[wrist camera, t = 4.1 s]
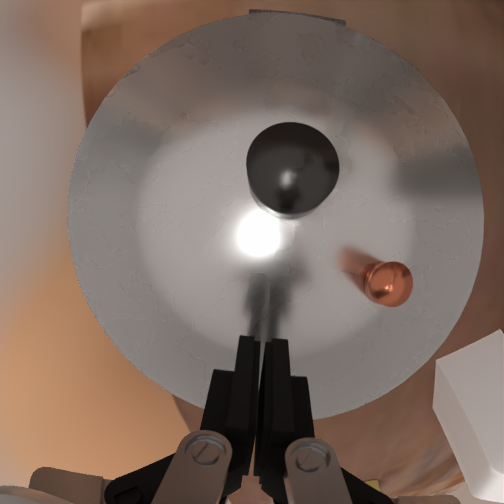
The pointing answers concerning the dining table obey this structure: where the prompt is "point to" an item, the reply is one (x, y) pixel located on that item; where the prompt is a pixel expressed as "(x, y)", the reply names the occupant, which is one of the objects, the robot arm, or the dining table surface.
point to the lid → (276, 209)
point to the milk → (474, 412)
